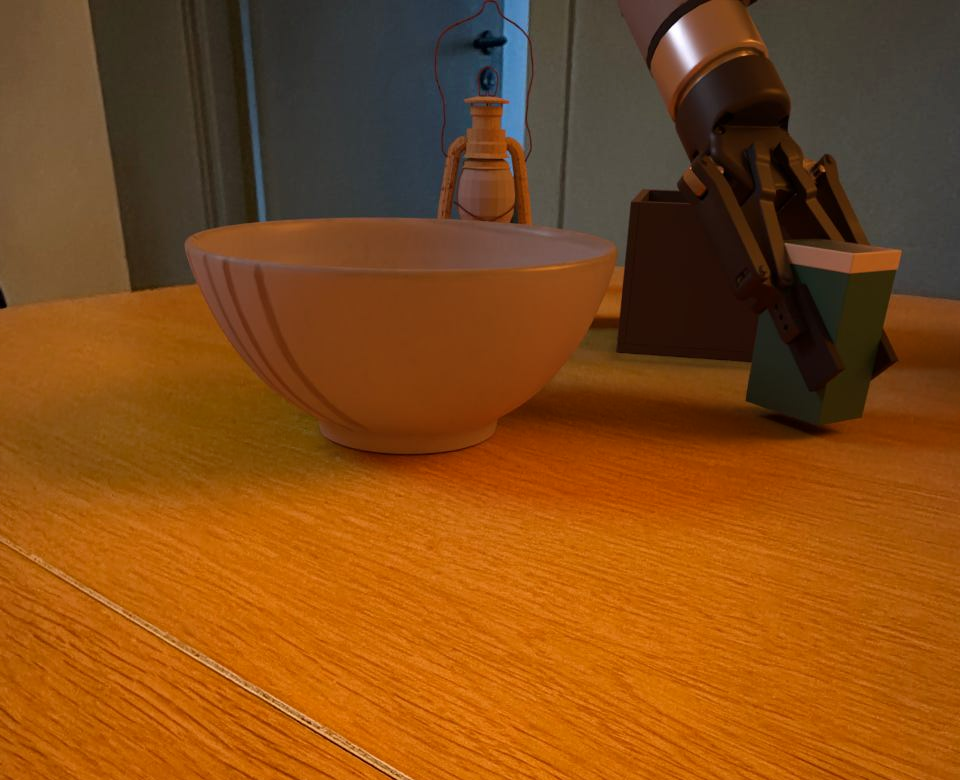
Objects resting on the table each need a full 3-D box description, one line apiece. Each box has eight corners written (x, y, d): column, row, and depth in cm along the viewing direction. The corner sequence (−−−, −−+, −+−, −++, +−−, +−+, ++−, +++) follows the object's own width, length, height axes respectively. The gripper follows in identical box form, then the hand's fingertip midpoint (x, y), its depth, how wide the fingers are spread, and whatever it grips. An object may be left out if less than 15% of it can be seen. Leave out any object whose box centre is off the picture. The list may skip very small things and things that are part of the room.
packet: (787, 393, 69) (817, 238, 63) (863, 418, 64) (902, 250, 58) (743, 401, 67) (770, 240, 61) (817, 426, 62) (854, 253, 56)
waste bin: (793, 328, 96) (818, 195, 90) (810, 365, 81) (842, 210, 75) (629, 317, 99) (642, 189, 93) (616, 352, 84) (630, 201, 78)
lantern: (437, 296, 108) (436, -9, 93) (433, 283, 117) (432, 2, 102) (535, 297, 109) (550, -4, 94) (524, 284, 118) (536, 6, 103)
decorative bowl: (137, 478, 53) (97, 257, 47) (286, 370, 76) (272, 211, 69) (594, 512, 50) (616, 280, 44) (604, 388, 73) (620, 225, 67)
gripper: (775, 136, 72) (897, 391, 68) (598, 134, 64) (723, 421, 60) (842, 54, 65) (982, 331, 61) (654, 41, 58) (799, 357, 54)
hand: (853, 375), depth 61 cm, fingers closed on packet, 4 cm apart
